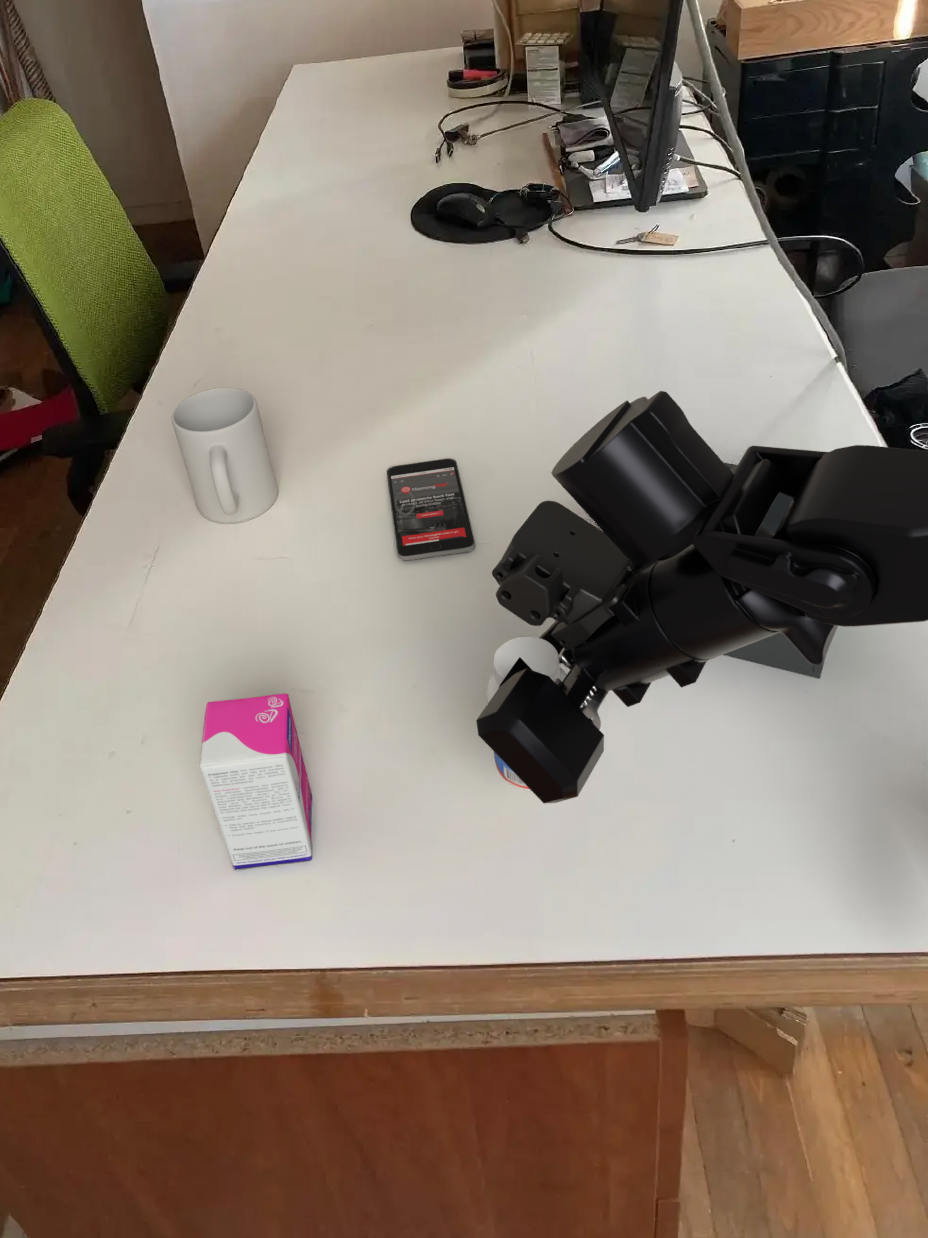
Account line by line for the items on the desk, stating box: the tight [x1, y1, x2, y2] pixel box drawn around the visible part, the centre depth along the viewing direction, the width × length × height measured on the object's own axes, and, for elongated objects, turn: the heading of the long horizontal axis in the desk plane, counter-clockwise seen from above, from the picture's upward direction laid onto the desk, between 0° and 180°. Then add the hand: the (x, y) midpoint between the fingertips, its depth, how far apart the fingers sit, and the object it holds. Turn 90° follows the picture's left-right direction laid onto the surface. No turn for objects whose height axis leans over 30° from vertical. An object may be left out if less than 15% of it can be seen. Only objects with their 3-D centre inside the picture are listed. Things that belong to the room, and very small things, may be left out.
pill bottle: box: [485, 635, 568, 792], centre depth 65 cm, size 6×5×10 cm
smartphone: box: [386, 457, 476, 561], centre depth 101 cm, size 7×1×15 cm
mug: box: [171, 387, 279, 525], centre depth 101 cm, size 12×8×11 cm
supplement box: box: [199, 692, 313, 871], centre depth 70 cm, size 6×6×12 cm
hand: (510, 686), depth 64 cm, fingers closed on pill bottle, 5 cm apart
